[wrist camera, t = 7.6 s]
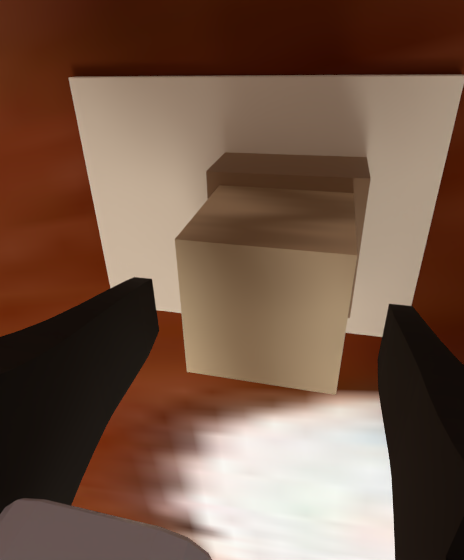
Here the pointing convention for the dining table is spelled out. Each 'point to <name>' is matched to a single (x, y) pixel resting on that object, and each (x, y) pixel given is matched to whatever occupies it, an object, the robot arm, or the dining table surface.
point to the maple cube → (268, 285)
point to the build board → (264, 116)
